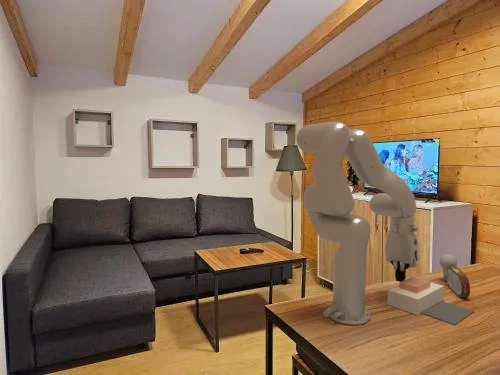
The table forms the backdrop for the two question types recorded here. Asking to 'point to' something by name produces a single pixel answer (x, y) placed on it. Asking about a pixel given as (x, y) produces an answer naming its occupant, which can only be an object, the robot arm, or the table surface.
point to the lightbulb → (447, 263)
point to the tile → (414, 284)
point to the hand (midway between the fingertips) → (400, 280)
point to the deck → (415, 298)
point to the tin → (458, 282)
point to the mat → (447, 312)
